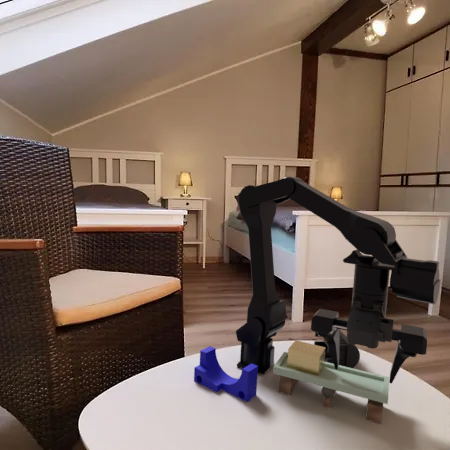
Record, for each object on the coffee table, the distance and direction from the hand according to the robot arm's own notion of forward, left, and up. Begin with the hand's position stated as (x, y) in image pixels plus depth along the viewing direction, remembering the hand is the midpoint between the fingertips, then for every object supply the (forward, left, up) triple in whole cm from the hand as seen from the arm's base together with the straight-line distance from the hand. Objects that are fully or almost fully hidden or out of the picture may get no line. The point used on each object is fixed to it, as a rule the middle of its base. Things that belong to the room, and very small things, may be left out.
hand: (362, 375), depth 66 cm
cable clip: (-24, -7, -7) cm, 26 cm away
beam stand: (-5, 0, -6) cm, 8 cm away
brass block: (-10, 0, -2) cm, 11 cm away
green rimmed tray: (-6, 0, -2) cm, 6 cm away
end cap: (-7, +16, -7) cm, 19 cm away
